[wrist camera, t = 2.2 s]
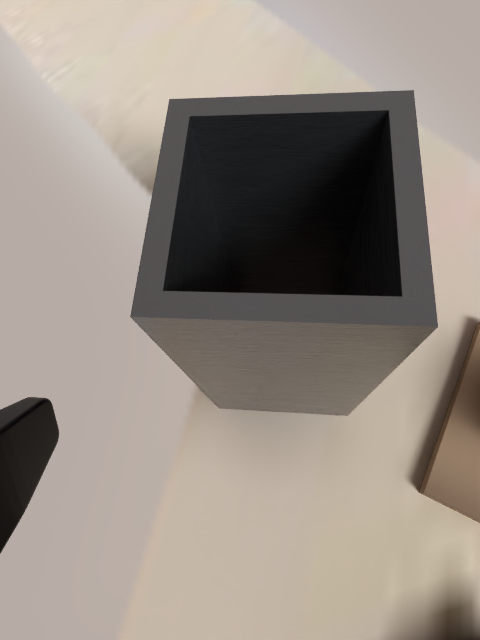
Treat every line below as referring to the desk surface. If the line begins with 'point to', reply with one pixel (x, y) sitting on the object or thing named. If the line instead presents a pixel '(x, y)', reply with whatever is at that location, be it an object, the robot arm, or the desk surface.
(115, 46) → the desk surface
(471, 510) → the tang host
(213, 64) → the desk surface
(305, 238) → the socket sleeve
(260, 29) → the desk surface
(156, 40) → the desk surface
